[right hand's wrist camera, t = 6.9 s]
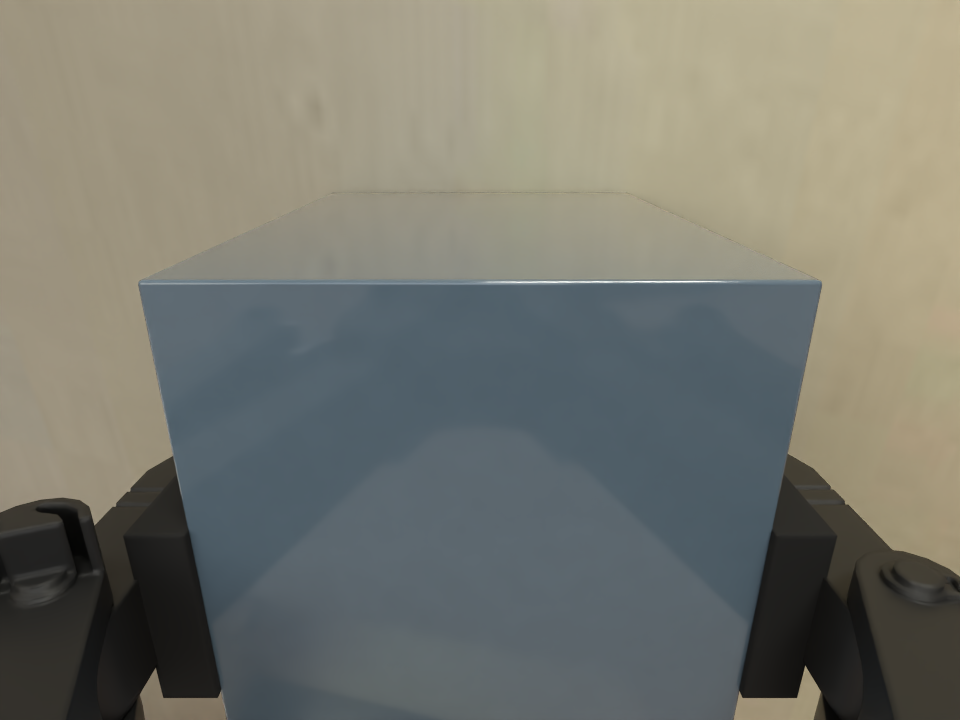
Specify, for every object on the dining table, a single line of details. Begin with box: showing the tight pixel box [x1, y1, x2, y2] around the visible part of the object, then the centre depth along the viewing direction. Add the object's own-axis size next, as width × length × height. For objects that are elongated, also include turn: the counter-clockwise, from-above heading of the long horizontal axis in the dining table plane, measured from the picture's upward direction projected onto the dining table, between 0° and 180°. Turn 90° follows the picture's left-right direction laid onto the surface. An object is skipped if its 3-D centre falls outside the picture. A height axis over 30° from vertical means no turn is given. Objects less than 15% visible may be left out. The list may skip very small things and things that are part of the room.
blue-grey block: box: [138, 193, 822, 720], centre depth 12 cm, size 7×9×9 cm
